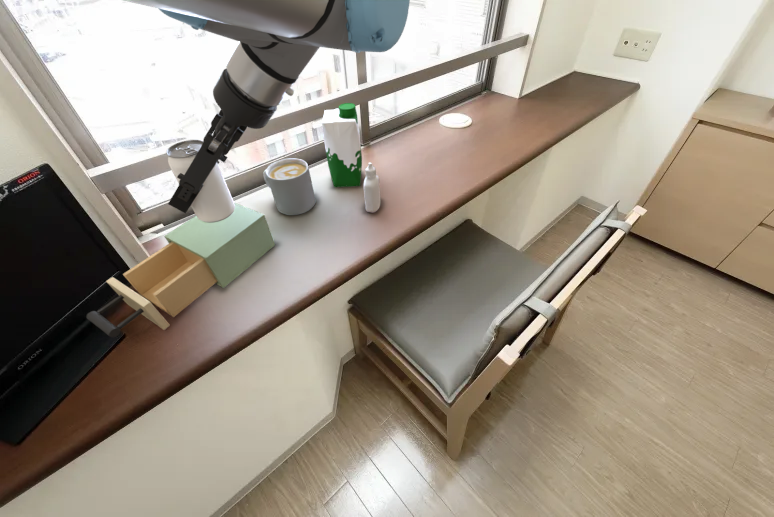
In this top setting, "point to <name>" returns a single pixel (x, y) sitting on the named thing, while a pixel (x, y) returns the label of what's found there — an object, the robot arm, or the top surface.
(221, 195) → the can
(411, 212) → the top surface
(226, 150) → the robot arm
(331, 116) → the milk carton
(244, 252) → the cabinet
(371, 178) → the eye dropper bottle
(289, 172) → the coffee mug
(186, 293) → the drawer
